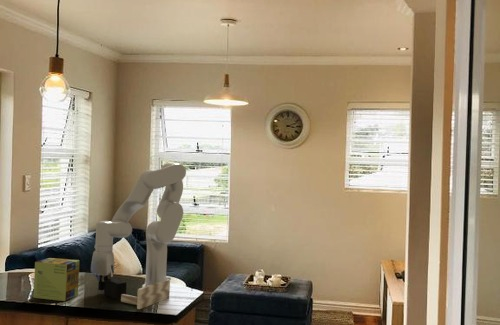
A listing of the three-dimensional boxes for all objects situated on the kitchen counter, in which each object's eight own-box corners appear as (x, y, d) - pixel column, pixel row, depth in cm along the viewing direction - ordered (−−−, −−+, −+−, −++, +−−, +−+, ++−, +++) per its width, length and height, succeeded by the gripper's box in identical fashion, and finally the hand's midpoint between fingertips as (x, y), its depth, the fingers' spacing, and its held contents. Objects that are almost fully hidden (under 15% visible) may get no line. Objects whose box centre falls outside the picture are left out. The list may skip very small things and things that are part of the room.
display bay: (145, 293, 233) (145, 275, 233) (169, 297, 227) (170, 279, 227) (113, 304, 214) (114, 285, 214) (139, 309, 208) (140, 289, 208)
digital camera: (128, 297, 225) (129, 281, 225) (118, 299, 220) (118, 283, 220) (114, 293, 231) (115, 277, 231) (104, 295, 227) (104, 279, 227)
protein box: (65, 301, 215) (67, 264, 215) (32, 298, 218) (34, 261, 218) (78, 295, 226) (80, 260, 226) (47, 292, 229) (48, 257, 229)
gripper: (85, 248, 230) (83, 288, 230) (111, 251, 223) (109, 293, 223) (97, 245, 237) (95, 285, 237) (122, 249, 230) (120, 290, 230)
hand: (102, 289), depth 230 cm, fingers closed
